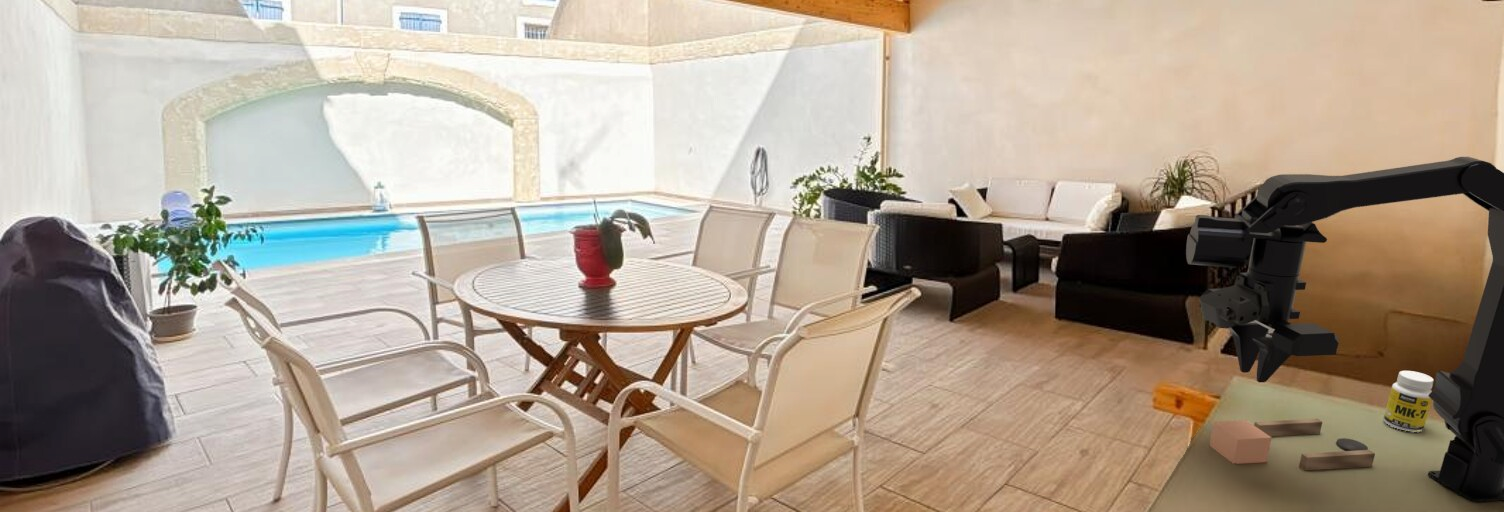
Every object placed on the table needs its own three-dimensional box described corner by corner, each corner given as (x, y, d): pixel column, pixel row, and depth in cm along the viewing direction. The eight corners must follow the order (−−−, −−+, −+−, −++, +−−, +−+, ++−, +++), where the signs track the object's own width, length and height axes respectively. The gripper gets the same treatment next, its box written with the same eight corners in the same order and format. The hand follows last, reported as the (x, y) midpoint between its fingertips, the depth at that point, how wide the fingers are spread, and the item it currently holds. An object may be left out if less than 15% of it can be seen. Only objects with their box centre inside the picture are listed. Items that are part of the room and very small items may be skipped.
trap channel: (1334, 429, 114) (1337, 417, 114) (1394, 465, 105) (1397, 452, 104) (1252, 433, 113) (1254, 422, 113) (1304, 470, 104) (1307, 457, 103)
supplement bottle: (1387, 429, 114) (1399, 378, 112) (1379, 415, 118) (1391, 366, 116) (1427, 436, 112) (1441, 385, 110) (1418, 422, 116) (1431, 372, 114)
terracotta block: (1241, 444, 111) (1246, 420, 109) (1266, 462, 106) (1271, 437, 105) (1209, 446, 110) (1213, 421, 109) (1233, 464, 105) (1237, 439, 104)
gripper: (1173, 253, 109) (1157, 352, 113) (1268, 295, 91) (1245, 411, 95) (1245, 250, 109) (1227, 349, 114) (1354, 292, 91) (1327, 407, 96)
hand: (1252, 376), depth 105 cm, fingers open, 3 cm apart
